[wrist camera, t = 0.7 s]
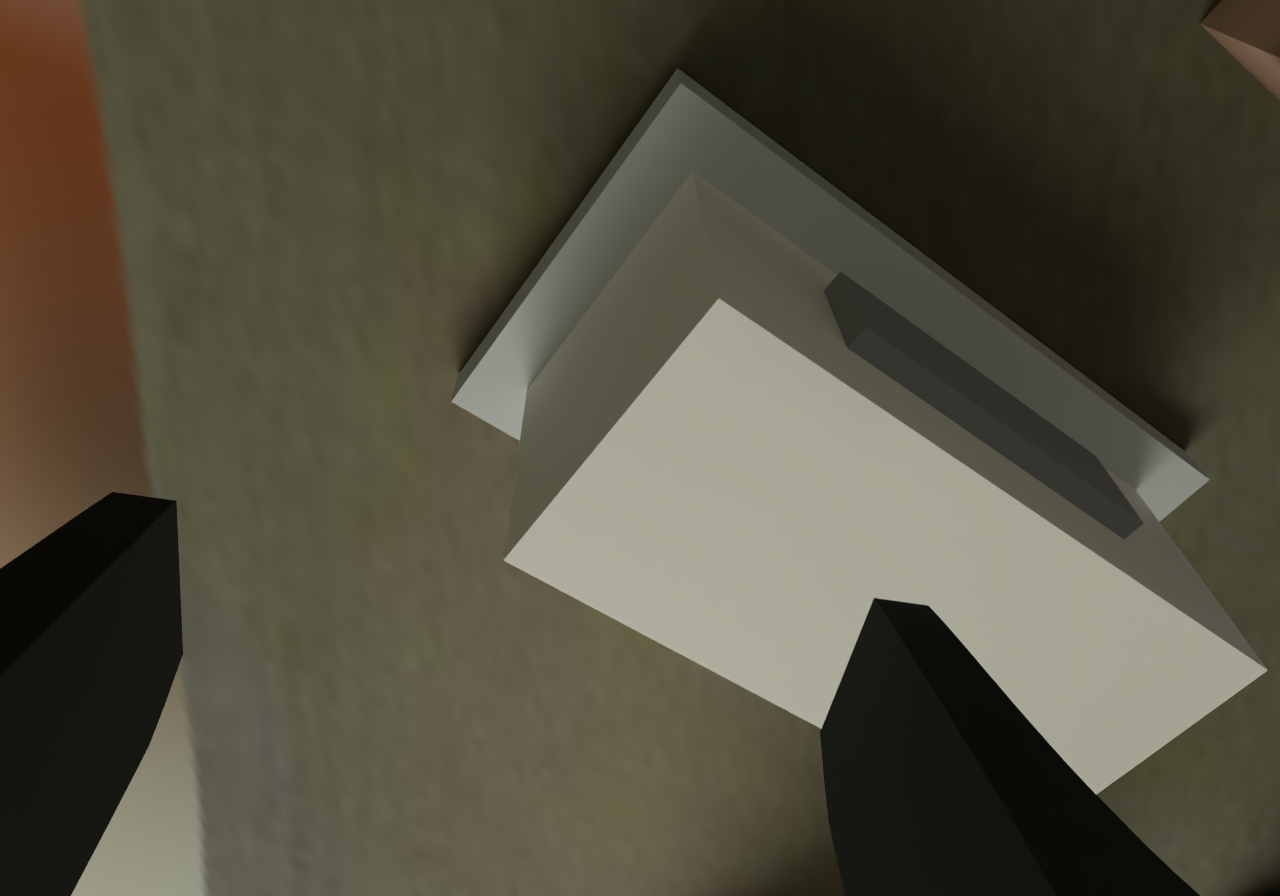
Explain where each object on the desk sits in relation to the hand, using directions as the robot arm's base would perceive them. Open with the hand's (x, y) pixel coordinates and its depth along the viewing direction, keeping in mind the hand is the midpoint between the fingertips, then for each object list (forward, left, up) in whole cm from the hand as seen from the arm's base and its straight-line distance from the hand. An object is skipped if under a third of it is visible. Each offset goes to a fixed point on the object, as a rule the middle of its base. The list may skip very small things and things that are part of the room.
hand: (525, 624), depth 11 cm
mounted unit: (-6, -1, -10) cm, 11 cm away
